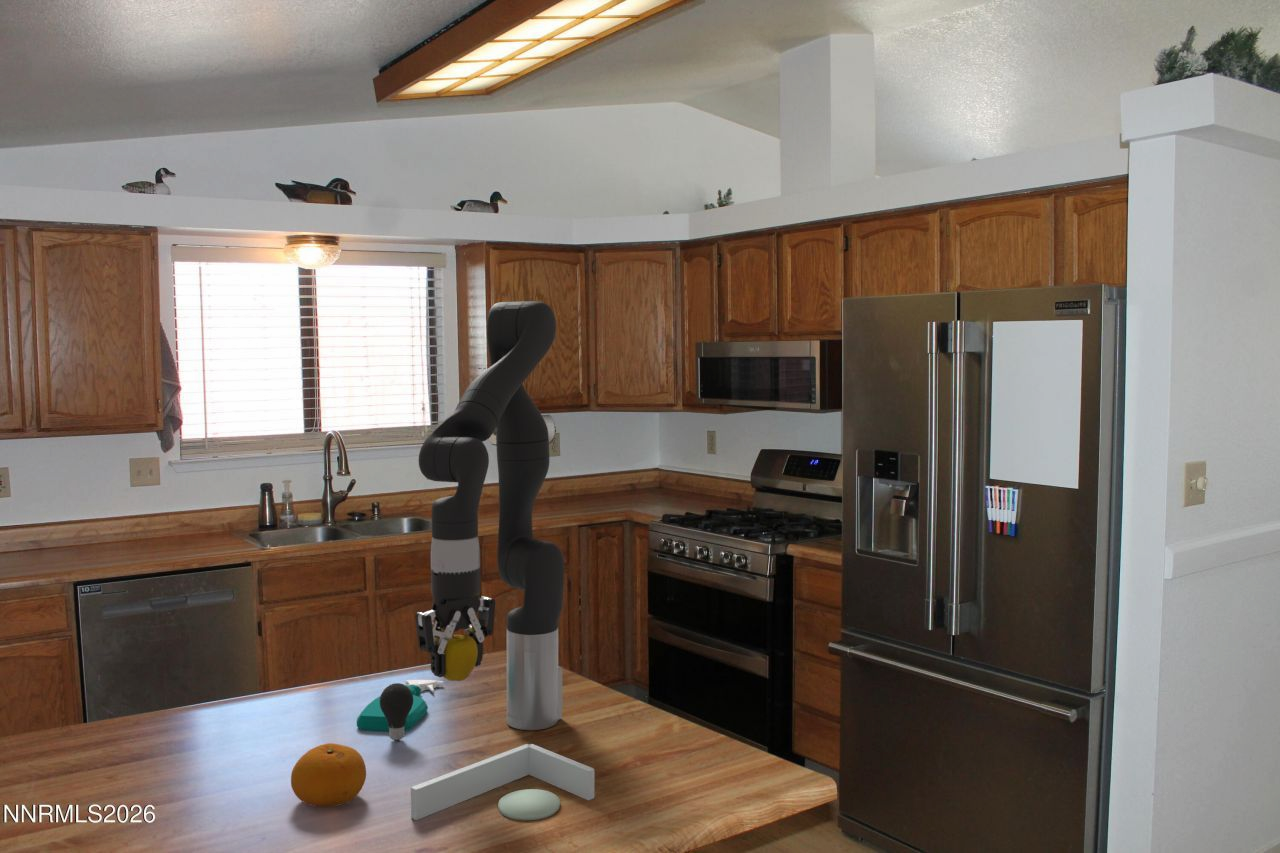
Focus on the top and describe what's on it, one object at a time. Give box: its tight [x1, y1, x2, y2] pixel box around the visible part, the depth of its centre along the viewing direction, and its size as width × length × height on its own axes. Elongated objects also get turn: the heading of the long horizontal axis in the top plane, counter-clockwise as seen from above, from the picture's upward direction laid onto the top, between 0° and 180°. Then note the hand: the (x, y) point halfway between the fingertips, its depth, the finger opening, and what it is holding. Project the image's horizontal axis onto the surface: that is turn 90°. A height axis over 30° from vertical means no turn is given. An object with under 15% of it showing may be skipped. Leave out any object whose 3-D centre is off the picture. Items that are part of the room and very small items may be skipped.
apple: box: [443, 634, 478, 682], centre depth 159 cm, size 6×6×8 cm
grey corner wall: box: [410, 743, 596, 821], centre depth 150 cm, size 23×15×4 cm, turn 138°
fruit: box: [290, 743, 367, 808], centre depth 151 cm, size 10×10×8 cm
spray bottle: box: [356, 679, 444, 733], centre depth 191 cm, size 3×11×24 cm
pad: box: [497, 788, 561, 822], centre depth 150 cm, size 9×9×1 cm
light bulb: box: [379, 682, 413, 743], centre depth 174 cm, size 6×6×10 cm
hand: (457, 670), depth 159 cm, fingers closed on apple, 6 cm apart
